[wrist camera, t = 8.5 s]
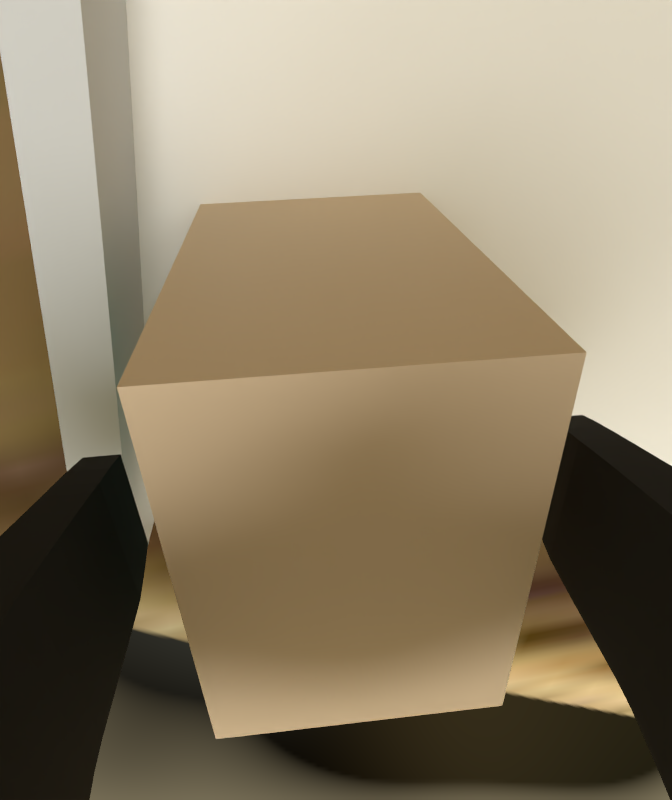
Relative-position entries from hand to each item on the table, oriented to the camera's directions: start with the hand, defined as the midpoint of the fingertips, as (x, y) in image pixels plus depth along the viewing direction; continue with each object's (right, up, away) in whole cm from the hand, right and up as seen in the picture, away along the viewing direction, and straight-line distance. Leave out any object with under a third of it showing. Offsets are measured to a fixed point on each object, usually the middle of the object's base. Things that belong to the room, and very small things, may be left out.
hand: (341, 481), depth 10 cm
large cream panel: (+3, +4, +5) cm, 7 cm away
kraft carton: (-1, +3, +5) cm, 6 cm away
